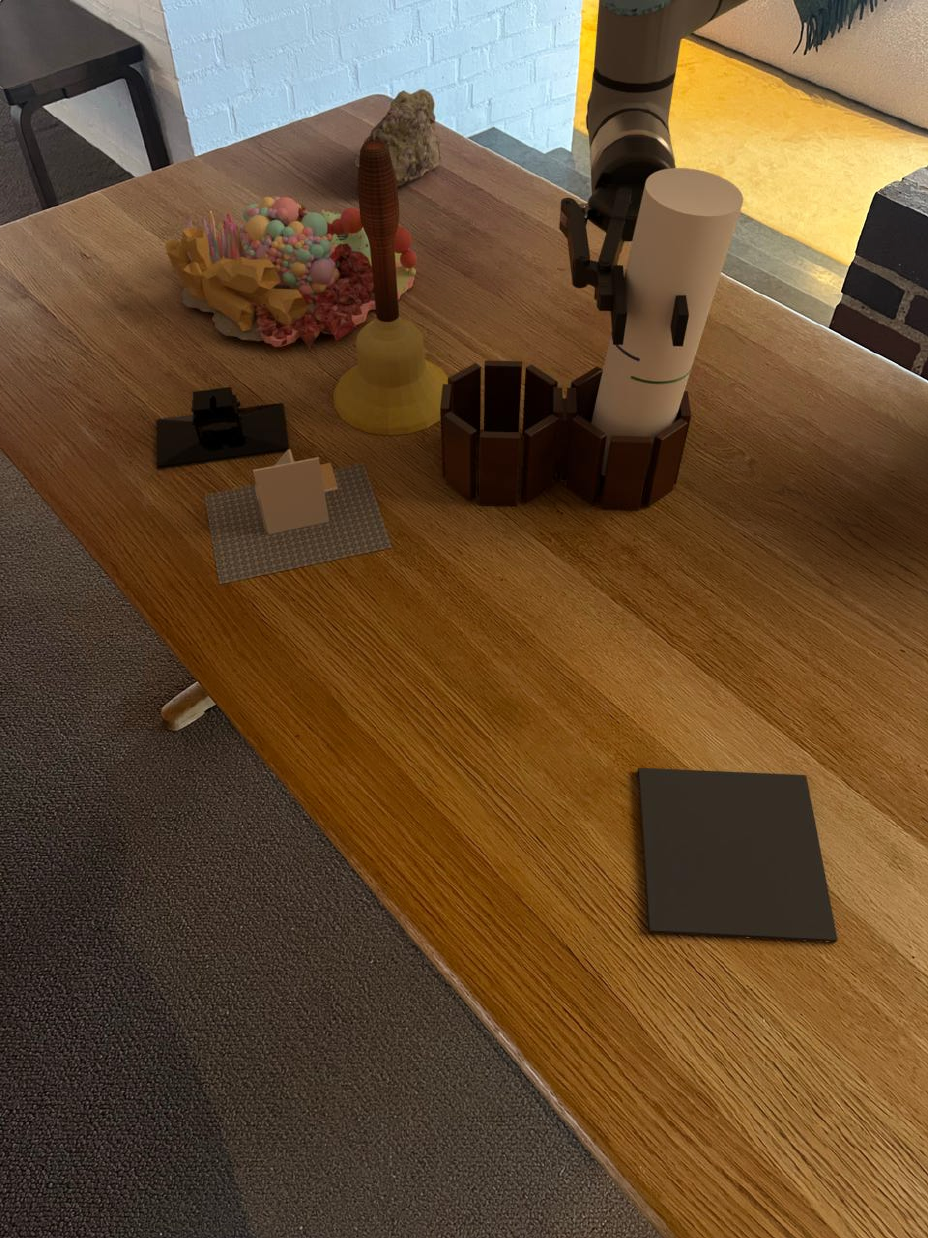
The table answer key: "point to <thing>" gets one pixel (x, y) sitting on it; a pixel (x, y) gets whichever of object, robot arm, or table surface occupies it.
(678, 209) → the cylindrical container
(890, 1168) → the table surface
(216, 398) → the build plate
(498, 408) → the holder
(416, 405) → the handbell
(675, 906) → the mat
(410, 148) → the mineral rock
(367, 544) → the architectural model
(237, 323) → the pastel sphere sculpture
